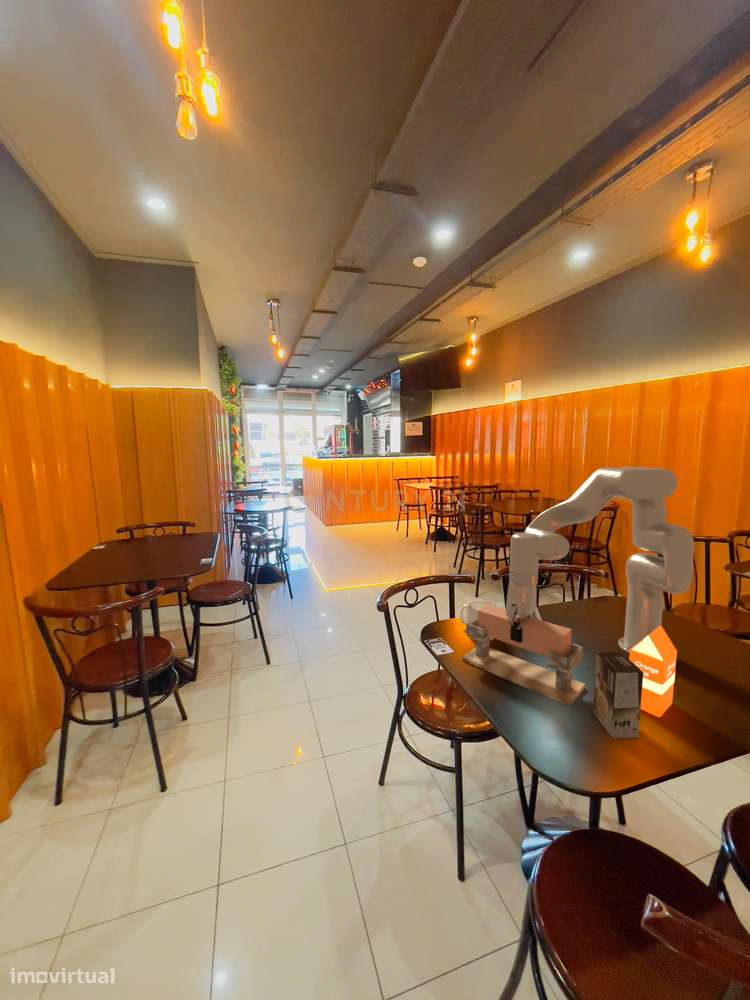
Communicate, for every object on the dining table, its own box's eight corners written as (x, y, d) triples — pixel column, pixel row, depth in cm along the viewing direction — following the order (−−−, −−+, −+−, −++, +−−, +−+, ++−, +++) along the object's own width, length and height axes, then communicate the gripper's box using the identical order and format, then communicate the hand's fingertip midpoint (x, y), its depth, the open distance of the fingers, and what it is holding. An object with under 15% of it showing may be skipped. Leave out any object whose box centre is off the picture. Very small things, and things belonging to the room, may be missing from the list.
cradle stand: (584, 687, 110) (587, 646, 109) (570, 706, 103) (572, 662, 101) (480, 647, 133) (481, 613, 131) (462, 660, 125) (463, 624, 123)
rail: (570, 653, 110) (571, 629, 109) (562, 662, 105) (563, 636, 104) (487, 625, 127) (488, 604, 126) (477, 632, 123) (478, 610, 122)
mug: (452, 631, 145) (452, 603, 143) (468, 622, 151) (469, 595, 150) (485, 644, 135) (486, 614, 133) (501, 634, 142) (502, 605, 140)
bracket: (534, 610, 156) (538, 592, 151) (549, 659, 139) (554, 641, 133) (526, 610, 157) (530, 592, 151) (539, 659, 139) (544, 641, 134)
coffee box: (640, 738, 91) (645, 672, 89) (611, 738, 92) (616, 672, 89) (617, 711, 100) (621, 651, 98) (591, 711, 101) (595, 651, 98)
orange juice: (672, 703, 103) (679, 630, 100) (660, 718, 98) (667, 640, 95) (638, 689, 109) (644, 619, 107) (624, 702, 104) (630, 629, 101)
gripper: (524, 567, 122) (522, 623, 125) (496, 581, 110) (494, 643, 113) (549, 572, 117) (546, 631, 120) (522, 588, 105) (520, 652, 107)
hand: (521, 636), depth 116 cm, fingers closed on rail, 5 cm apart
